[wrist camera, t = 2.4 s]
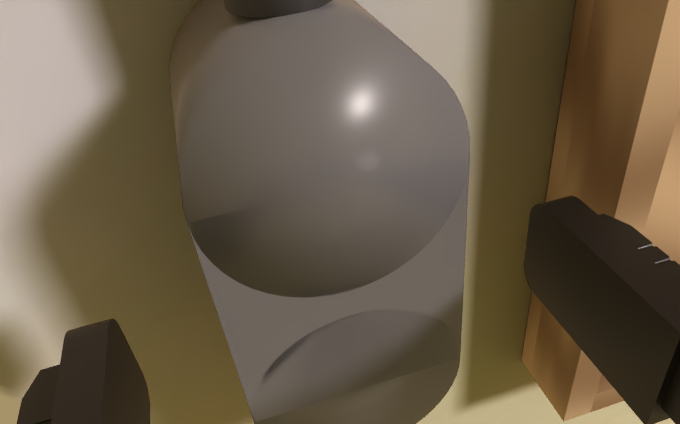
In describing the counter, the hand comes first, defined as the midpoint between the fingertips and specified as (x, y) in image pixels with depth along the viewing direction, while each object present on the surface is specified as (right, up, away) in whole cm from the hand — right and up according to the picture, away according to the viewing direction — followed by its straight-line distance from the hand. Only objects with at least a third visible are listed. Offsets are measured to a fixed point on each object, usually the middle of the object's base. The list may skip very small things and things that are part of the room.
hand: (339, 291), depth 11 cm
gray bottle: (-1, +2, +3) cm, 4 cm away
